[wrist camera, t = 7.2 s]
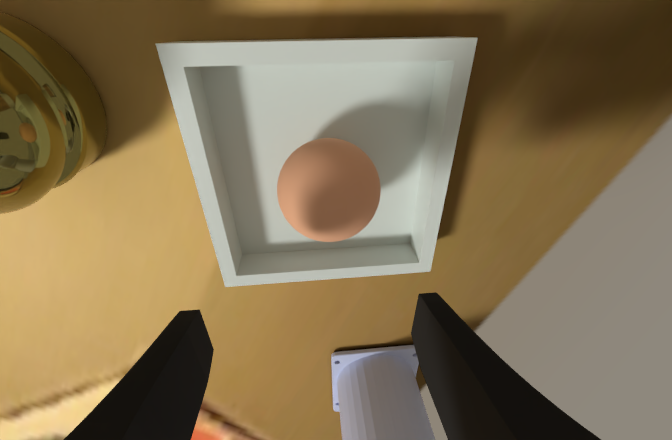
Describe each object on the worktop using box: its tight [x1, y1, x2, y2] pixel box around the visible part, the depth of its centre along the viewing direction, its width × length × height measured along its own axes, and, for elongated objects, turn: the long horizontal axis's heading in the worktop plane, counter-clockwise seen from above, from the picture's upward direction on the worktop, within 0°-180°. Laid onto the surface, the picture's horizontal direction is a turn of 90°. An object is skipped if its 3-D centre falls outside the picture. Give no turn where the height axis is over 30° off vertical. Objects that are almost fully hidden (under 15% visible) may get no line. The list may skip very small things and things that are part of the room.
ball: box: [277, 138, 381, 242], centre depth 15 cm, size 5×5×5 cm
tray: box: [156, 36, 478, 287], centre depth 16 cm, size 13×13×2 cm
